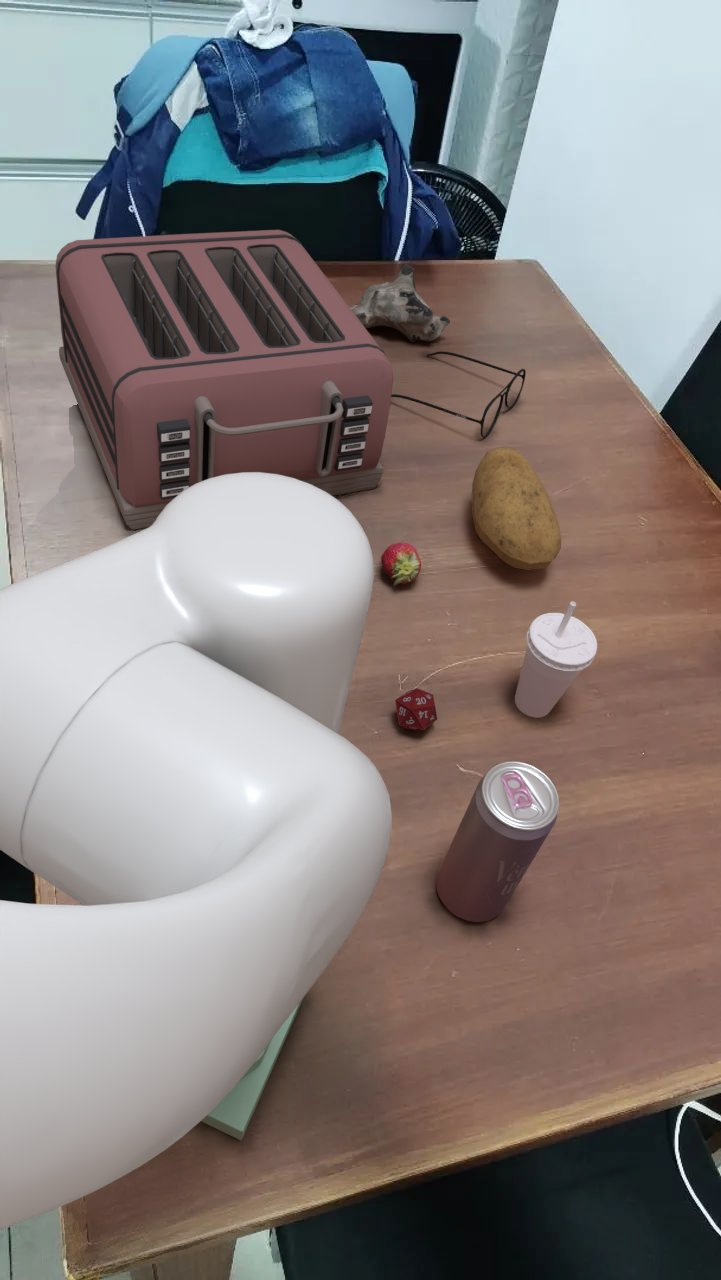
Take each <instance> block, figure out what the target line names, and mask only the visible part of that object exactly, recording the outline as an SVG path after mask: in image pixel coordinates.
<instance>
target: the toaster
mask: <svg viewBox="0 0 721 1280" xmlns="http://www.w3.org/2000/svg"><path fill="white" fill-rule="evenodd" d="M55 277H56V278H55V280H56V288H57V299H58V308H59V318H60V319H59V320H60V332H61V339H62V346H59V348H58V354H59V360H60V363H61V365H62V368H63V370H64V372H65V375H66V378H67V380H68V382H69V386H70V387H71V388H70V389H71V390H72V392H73V395H74V397H75V400H76V403H77V406H78V408H79V410H80V413H81V416H82V419H83V420H84V423H85V425H86V428H87V430H88V433H89V435H90V437H91V440H92V443H93V445H94V448H95V450H96V454H97V455H98V458H99V461H100V462H101V463H100V464H101V465H102V468H103V470H104V473H105V475H106V478H107V480H108V483H109V486H110V488H111V491H112V493H113V495H114V498H115V500H116V503H117V505H118V508H119V511H120V513H121V515H122V519H123V520H124V523H125V524H126V525H127V527H128V528H130V529H131V530H139V529H147V528H148V527H150V526H151V525H153V523H154V522H155V521H156V519H157V517H158V516H159V514H160V513H161V512H162V511H163V509H164V508H165V507H166V505H167V504H169V503H170V502H171V501H172V500H173V499H174V498H175V497H177V496H178V495H179V494H180V493H181V492H182V491H184V490H186V489H187V488H189V487H191V486H193V485H194V484H196V483H199V482H201V481H204V480H207V479H209V478H213V477H217V476H221V475H225V474H234V473H242V472H262V473H270V474H278V475H283V476H287V477H291V478H295V479H297V480H300V481H303V482H306V483H308V484H311V485H313V486H315V487H317V488H319V489H321V490H323V491H325V492H327V493H328V494H330V495H331V496H333V497H334V496H338V495H344V494H349V493H350V494H351V493H355V492H362V491H366V490H367V491H368V490H372V489H375V488H376V487H377V486H378V485H379V483H380V482H381V480H382V479H383V473H384V466H383V464H382V463H381V462H380V459H381V456H382V452H383V447H384V444H385V443H384V442H385V438H386V434H387V433H386V431H387V427H388V421H389V415H390V411H391V410H390V409H391V403H392V397H391V394H392V393H393V384H394V371H393V367H392V364H391V362H390V360H389V358H388V356H387V355H386V352H385V351H384V350H383V349H382V348H381V347H380V345H379V343H378V342H377V341H376V340H375V339H374V338H373V336H372V335H371V333H370V332H369V331H368V329H367V328H365V327H364V326H363V324H362V323H361V322H360V321H359V319H358V318H357V317H356V315H355V314H354V313H353V311H352V310H351V309H350V306H349V304H348V303H347V301H345V299H343V297H342V295H340V293H339V291H338V290H337V289H336V288H335V287H334V285H333V284H332V283H331V281H330V280H329V279H328V277H327V276H326V275H325V273H324V272H323V271H322V270H321V268H320V266H319V265H318V264H317V262H315V260H314V259H313V257H311V255H310V254H309V252H308V251H307V250H306V249H305V247H304V246H303V244H302V242H301V241H299V239H297V238H296V237H295V236H294V235H293V234H291V233H289V232H287V231H285V230H282V229H266V230H265V229H263V230H246V231H244V230H243V231H223V232H222V231H219V232H202V233H201V232H199V233H179V234H177V233H176V234H163V235H161V234H160V235H143V236H142V235H141V236H128V237H127V236H125V237H108V238H90V239H76V240H73V241H70V242H68V243H66V244H65V245H64V246H63V247H62V248H60V250H59V251H58V253H57V254H56V258H55Z"/></svg>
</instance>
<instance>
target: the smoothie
mask: <svg viewBox="0 0 721 1280" xmlns="http://www.w3.org/2000/svg"><path fill="white" fill-rule="evenodd" d="M576 607H577V603H576V602H575V601H570V603H569V604H568V606H567V608H566V611H565V613H561V612H548V613H547V612H546V613H544V614H541V615H538V616H537V617H536V618H534V620H533V621H532V622H531V624H530V626H529V628H528V629H527V632H526V643H527V645H526V649H525V653H524V658H523V661H522V666H521V670H520V674H519V677H518V682H517V685H516V686H517V687H516V690H515V694H514V704H515V706H516V708H517V709H518V710H519V711H520V712H521V713H522V714H524V715H526V716H528V717H531V718H535V719H537V718H543V717H546V716H547V715H549V714H550V712H551V711H552V710H553V708H554V707H555V706H556V704H558V701H559V700H560V699H561V698H562V696H563V695H564V694H565V693H566V692H567V690H568V688H569V687H570V686H571V684H572V683H573V682H574V680H576V679H577V677H578V676H579V675H580V673H581V672H582V670H583V669H586V668H587V667H589V666H590V665H591V664H592V663H593V661H594V659H595V656H596V654H597V651H598V641H597V638H596V636H595V634H594V632H593V631H592V629H591V628H590V627H589V626H588V625H586V624H585V622H583V621H582V620H580V619H579V618H577V617H575V616H573V613H574V611H575V609H576Z"/></svg>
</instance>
